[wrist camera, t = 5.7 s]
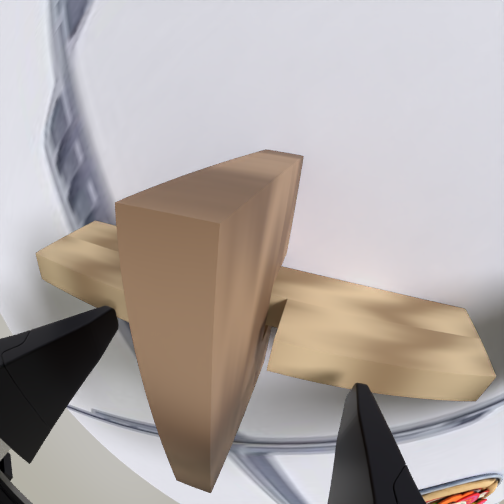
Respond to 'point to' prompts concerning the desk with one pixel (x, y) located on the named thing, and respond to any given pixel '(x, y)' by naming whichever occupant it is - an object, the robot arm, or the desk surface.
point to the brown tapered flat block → (205, 297)
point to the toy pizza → (463, 490)
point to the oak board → (316, 325)
